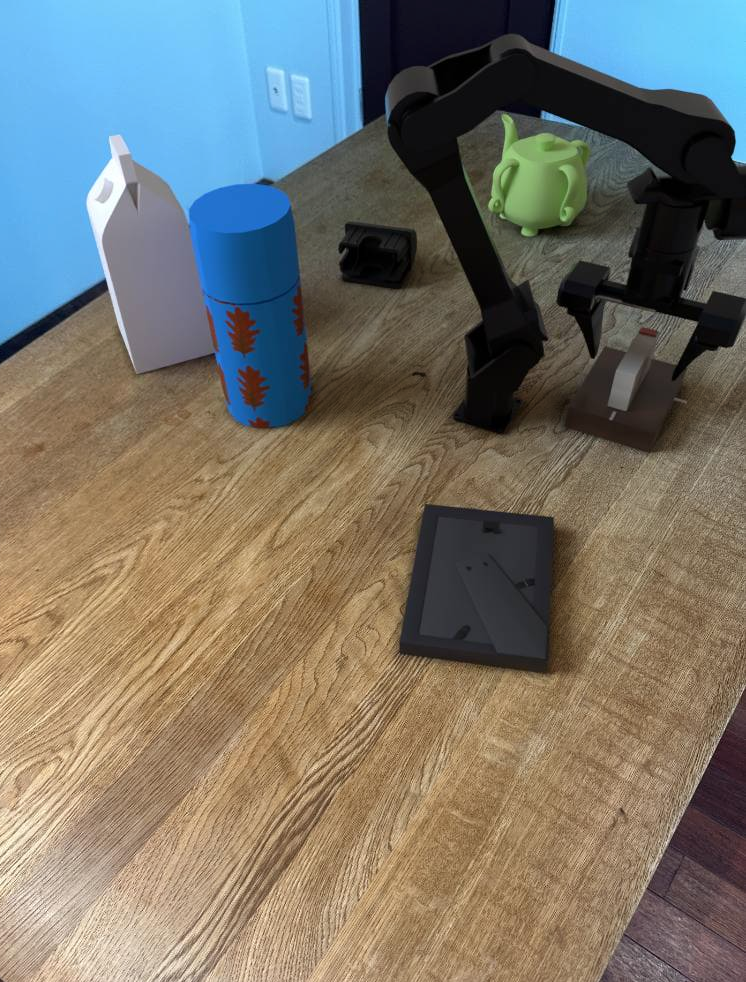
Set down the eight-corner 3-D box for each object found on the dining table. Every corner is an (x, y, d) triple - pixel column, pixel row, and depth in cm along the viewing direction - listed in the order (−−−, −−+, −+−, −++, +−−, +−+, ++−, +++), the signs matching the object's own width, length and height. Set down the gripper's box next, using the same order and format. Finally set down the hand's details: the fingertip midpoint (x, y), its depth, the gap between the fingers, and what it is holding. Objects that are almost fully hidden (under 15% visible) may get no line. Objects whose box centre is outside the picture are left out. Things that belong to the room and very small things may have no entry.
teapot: (466, 230, 126) (471, 148, 117) (496, 190, 134) (503, 109, 125) (568, 249, 121) (582, 164, 112) (593, 205, 129) (608, 122, 120)
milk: (220, 351, 109) (181, 154, 89) (136, 374, 106) (77, 177, 87) (197, 306, 116) (156, 115, 97) (118, 326, 114) (60, 135, 95)
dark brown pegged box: (663, 457, 91) (670, 436, 88) (550, 423, 96) (554, 402, 93) (694, 391, 98) (701, 369, 96) (588, 362, 103) (592, 341, 101)
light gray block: (626, 411, 92) (636, 374, 88) (607, 406, 92) (616, 368, 89) (649, 367, 97) (660, 330, 93) (631, 362, 97) (641, 325, 93)
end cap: (417, 264, 120) (417, 221, 115) (402, 290, 116) (403, 246, 111) (353, 256, 123) (351, 213, 118) (337, 280, 119) (334, 237, 114)
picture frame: (545, 673, 73) (551, 529, 85) (548, 660, 72) (554, 514, 83) (399, 653, 76) (424, 515, 87) (399, 640, 74) (424, 501, 85)
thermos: (300, 433, 97) (276, 236, 78) (215, 425, 99) (172, 231, 80) (320, 377, 104) (302, 184, 85) (240, 371, 106) (205, 180, 87)
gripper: (783, 222, 82) (735, 351, 94) (601, 187, 89) (578, 311, 100) (758, 275, 76) (710, 406, 87) (566, 233, 83) (545, 360, 94)
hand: (633, 367), depth 93 cm, fingers open, 9 cm apart
